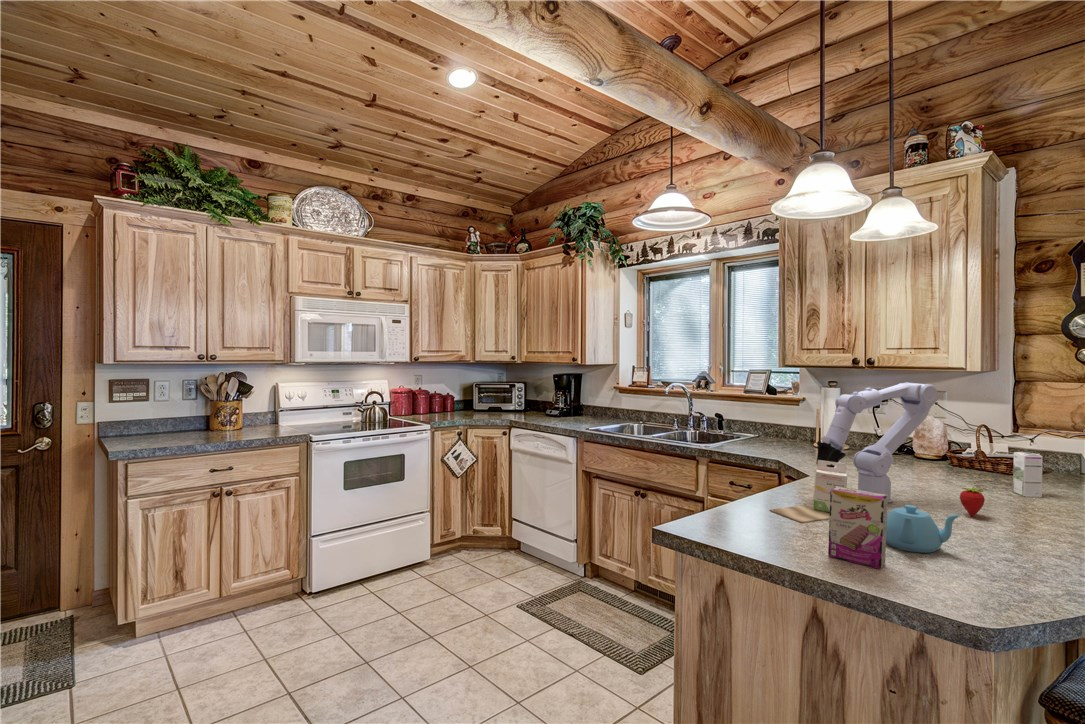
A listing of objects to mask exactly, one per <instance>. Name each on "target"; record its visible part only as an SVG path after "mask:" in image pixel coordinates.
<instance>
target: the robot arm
mask: <svg viewBox="0 0 1085 724" xmlns="http://www.w3.org/2000/svg"><path fill="white" fill-rule="evenodd" d="M895 398H900V402H901V405H902V407H903V409H904V410H905V412H904V413H903V414H902V415H901V416H900V417H899V419H898V420H896V422H895V423H894V424H893V425H892V426H891V427H890V428H889V429H888V430H887V431H886V432H885V433H884V434H883V436H881V438H879V440H878V441H877V442H876V443H874V444H871V445H868V446H866V447H864V448H863V449H862V450H858V451H857V452H855V454H854V456H853V460H852V463H853V466H854V467H855V468H856V471H857V472H858V473H857V490H861V491H867V492H873V493H879V494H885V495H887V496H888V503H893V502H894V500H893V499H891V492H892V490H891V489H892V483H891V482H892V481H891V478H890V477H889V476H888V475H887V473H888V472H889V471H890V468H891V466H892V464H893V463H894V462H895V460H894V457H893V454H894V453H895V452H896V451H897V450H898V448H900V446H901V445H902V444H903V443H904V442H905V441H906V440H907V439H908V438H909V437H910V436H911V435H912V434H913V433H914V431H915V430H917V429H918V427H919V426H920V425H921V424H922V423H923V422H924V421H925V420H926V418H927V417H928V414H929V412H930V410H931V408H932V407H933V405H934V404H935V403H937V402H938V400H939V397H938V390H937V387H935V385H934V384H932V383H916V382H910V381H909V382H907V381H906V382H901V383H898V384H895V385H891V386H888V387H885V388H882V389H880V390H877V389H875V388H872V387H866V388H864V390H861V391H852V393H851V394H848V393H847V394H845V393H844V394H843V393H842V394H841V395H840V396H838V398H835V409H834V415H833V418H832V420H831V422H830V424H829V428H828V430H827V433H826V435H824V436H823V437H820V440H821V441H818V440H817V442H816V446H817V455H816V465H817V462H818V460H822V461H831V462H838V463H840V461H841V460H842V459H844V458H845V457H846V453H845V452H844V449H845V445H846V444H845V443H846V441H847V439H848V436H849V434H850V431H851V428H852V425H853V423H854V421H855V419H856V417H857V414H861V413H862V412H863V411H864V410H866V409H870V408H874V407H878V406H880V405H881V403H882V401H886V400H887V401H888V400H891V399H895ZM826 466H827V467H833V468H836V466H834V465H832V464H831V465H826Z"/></svg>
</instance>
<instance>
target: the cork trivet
mask: <svg viewBox="0 0 1085 724" xmlns="http://www.w3.org/2000/svg"><path fill="white" fill-rule="evenodd" d="M769 512H771V513H775V514H776V515H778V516H781V517H784V518H787V519H789V520H793V521H795V522H797V523H799V524H804V523H806V524H807V523H812V522H819V521H827V520H830V513H829V512H826V511H822V510H816V509H814V507H810V506H807V505H805V504H804V505H797V506H796V505H795V506H788V507H782V508H774V509H773V508H771V509H769Z"/></svg>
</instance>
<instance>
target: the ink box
mask: <svg viewBox="0 0 1085 724" xmlns="http://www.w3.org/2000/svg"><path fill="white" fill-rule="evenodd" d="M816 462H817V461H816ZM831 464H832V465H834V466H835V467H834V468H833V467H827V466H826V465H831ZM835 486H839V487H844V488H848V487H847V486H848V474H847V463H845V462H831V461H822V460H818V462H817V464H816V470H815V478H814V490H813V508H814V509H816V510H819V511H822V512H826V513H830V491H831V489H832V488H834V487H835Z"/></svg>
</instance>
